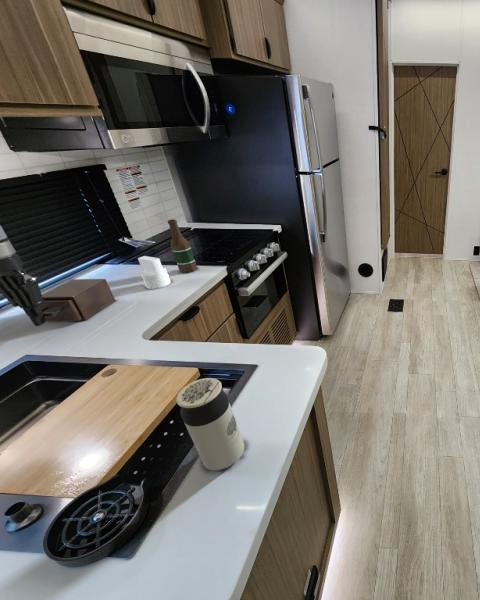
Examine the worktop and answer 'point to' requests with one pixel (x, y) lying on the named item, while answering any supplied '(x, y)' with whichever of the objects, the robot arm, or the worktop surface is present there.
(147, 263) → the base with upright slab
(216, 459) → the travel mug
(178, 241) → the beer bottle
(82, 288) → the cabinet
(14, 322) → the worktop surface
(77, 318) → the drawer
